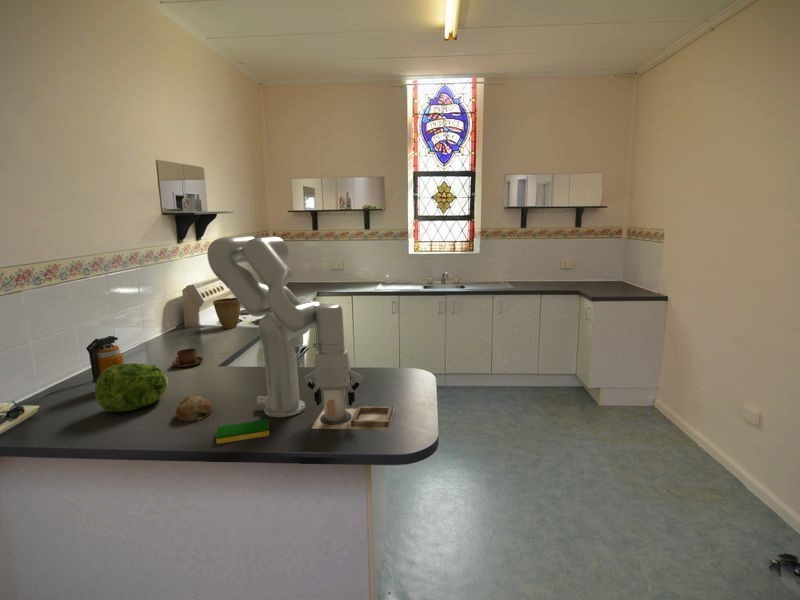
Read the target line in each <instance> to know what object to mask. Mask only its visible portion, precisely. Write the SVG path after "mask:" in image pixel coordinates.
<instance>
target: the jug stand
mask: <svg viewBox="0 0 800 600" xmlns="http://www.w3.org/2000/svg"><path fill="white" fill-rule="evenodd" d="M394 411H395V408H394V406H384V405H383V406H377V405H376V406H373V405H372V406H371V405H369V406H368V405H367V406H363V405H362V406H361V405H360V406H357V408H346V413H347V417H346V418H345V419H343V420H340V421H327V420H326V419H325V414H324V408H323V410H322V411H321V412H320V414H319V415H318V417H317V418H316V420H315V421H314V423H313V424H312V426H311V429H315V430H325V429H327V430H379V431H380V430H382V431H383V430H387V431H388V430H389V429H390V425H391V423H392V422H391V421H392V418H393V415H394ZM311 429H310V430H311Z"/></svg>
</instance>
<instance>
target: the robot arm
mask: <svg viewBox="0 0 800 600" xmlns="http://www.w3.org/2000/svg"><path fill="white" fill-rule="evenodd" d="M288 247H289V246H288V245H287V243H286V242H285V241H284V239H282V238H281V237H278V236H275V235H273V236H271V235H270V236H269V235H254V234H253V235H251V234H250V235H237V236H236V235H235V236H225V237H220V238H217V239H215V240H212V242H210V244H209V245H208V247H207V260H208V264H209V267H210V269H211V271H212V272H213V274H214V275H215V276H216V277H217V278H218V279H219V280H220V282H221V283H223V285H225V286H226V287H227V288H228V289H229V291H231V293H232V295H233V296H234V298H237V300H238V301H239V302H240V303H241V305H240V306H242V308H244V309H245V311H246V312H247V313H248V314H249V315H250V316H252V317H261V319H260V320H259V322H258V326H257V329H258V330H257V331H258V334H259V335H258V336H259V338H260V342H261V345H262V351H263V356H264V364H265V367H264V368H265V377H266V388H267V395H266V396H263V395H262V396H261V395H260V396H259V395H258V396H257V397H256V402H257V405H259V406H261V405H264V408H263V410H264V411H263V412H264V414H265V415H266V416H268V417H271V418H286V417H292V416H295V415H298V414H300V413H301V412H303V411H304V410H305V409H306V402H305V401H304V400H302V399H300V389H299V377H298V362H297V353H296V350H295V348H294V346H293V345H292V343H291V341H290V340H292V339H294V338H297V337H299V336H302V335H305V334H306V333H308V332H309V330H310V329H313V328H316V338H317V342H316V343H313V344H312V347H313V349H316V350H317V352H315V354H314V355H315V356H314V364H313V365H314V368H313V371H312V372H310V373H308V374H307V375H305V376H304V377H303V380H304V381H305V383H306V384H307V386H308V388H309V389H311V390H312V393H313V394H314V402H316V403H315V404H316V406H320V405H321V403H322V401H323V400H322V390H321V388H323V387H324V388H342V387H345V389H347V390H348V393H347V401H348V406H351V407H352V405H353V403H354V402H355V400H356V397H355V396H356V395H355V391H356V390H357V388H359V386H360V384H361V383H362V381H363V378H364V376H363V375H361V374H360V373H358V372H355V371H353V369H352V368H351V363H350V358H349V357H350V356H349V353H348V351H347V349H345V347H346V346H345V333H344V316H343V314H344V313H343V308H342V306H341V305H340V304H337V303H324V302H321V301H318V300H312V301H308V302H304V303H301V301H300V300H299V299H298V298H297V297H296V295H295V294H293V292H292V291H291V290H290V288H289V287H287V285H289V282H290V281H291V279H292V277H293V271H292V269H290V267H289V266H288V264H287V263H286V262H285V260H286V259H288V256H289V248H288ZM241 263H248V265H250V266H251V268H252V269H253V271H254V272H255V273H256V274H257V275H258V277H259V278H260V279H261V280H262V282H263V283H261V282H260V281H259V279H257V278H256V276H255V275H254V274H253V273H252V272H251V271H250V270H248V269H247V268H245V267H243V266H242V265H240V264H241ZM351 369H352V370H351ZM312 378H313V379H314V382H313V381H312ZM352 378H354V379H356V382H354V383H353V382H352Z"/></svg>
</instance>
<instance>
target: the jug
mask: <svg viewBox="0 0 800 600" xmlns="http://www.w3.org/2000/svg"><path fill="white" fill-rule="evenodd" d="M322 397H323V400H322V401H323V409H324V414H325V419H326V420H327V421H340V420H343V419H345V418H346V417H347V413H346V409H347V401H346V387H342V388H324V387H322Z"/></svg>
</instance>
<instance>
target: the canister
mask: <svg viewBox="0 0 800 600" xmlns="http://www.w3.org/2000/svg"><path fill="white" fill-rule="evenodd" d="M118 338H119V337H117V336H115V335H114V336H113V335H107V337H102V338H99V339H98V338H94V340H93V341H92V342H91V343H90V344H88V345H87V347H85V349H86V350H87V352H88V354H89V362H90V367H91V373H92V383H94V384H96V382H97V379H98V377H99V375H100V374H101V373H102V372H103V371H104V370H106V369H107V368H108V367H111V366H114V365H121V364H125V363H124V356H123V353H121V348H120V347H119V345H116V344H115V341H118ZM114 344H115V345H114Z"/></svg>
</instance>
